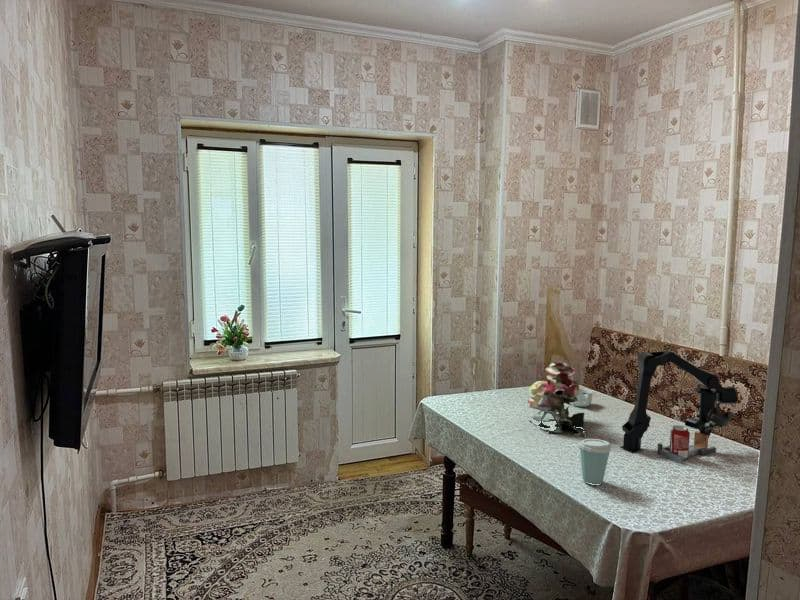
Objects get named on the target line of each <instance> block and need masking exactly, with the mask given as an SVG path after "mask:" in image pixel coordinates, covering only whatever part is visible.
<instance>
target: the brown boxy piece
mask: <svg viewBox="0 0 800 600" xmlns="http://www.w3.org/2000/svg"><path fill="white" fill-rule="evenodd" d="M693 445H696V446H692V447H689V455H688V457H690V456H695V455H700V450H701V449H706V448H709V447H708V446H709V438H708V435H706V434H703V433H700V431H694V442H693Z"/></svg>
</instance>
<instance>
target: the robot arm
mask: <svg viewBox="0 0 800 600" xmlns="http://www.w3.org/2000/svg"><path fill="white" fill-rule="evenodd" d="M668 363H671V364H673V365H675V366H676V367H678V368H680V369H681V370H683V371H684V372H686V373H687V374H690V375H691V376H692V377H693V378H694V379H695V380H696V381H697V382H698V383H699V384H701V385H702V386H704V387H705V388H704V387H702V386H700V385H698V386H697V388H695V389H694V392H695V393H697V394H699V403H698V404H697V405H696V408H698V414H695V415H696V417H690V418H686V419H685V420H684V426H685V427H688V428H692V429H694V430H698V432H700V433H703V434H706V435H708V439H709V438H710V436H711V434H712V432H713V430H714V429H715V428H717V427H718V428H723V427H727V426H728V425H729V423H731V422H732V414H731V413H730V412H728V411H727V412H720V411H719V410H720V409H719V407H718V406H716V404H717V403H716V402H718V404H721V405H735V404H736V405H737V403H738V401H739V397H738V394H737V390H736V387H735V386H731V385H730V386H723V385H722V384H721V383H720V378H719V377H718V376H717V375H716V374H714V373H712V372H710V371H708V370H705V369H702V368H699V367H697V366H696V365H694V364H692V363H691V362H689V361H688V360H686V359H684V358H683V357H681V356H679V355H678V354H677V353H675V352H674V351H672V350H668V349H666V350H663V351H651V352H646V351H643V352H641V353H639V355H638V356H637V368H638V374H639V375H638V381H637V387H636V388H637V389H636V394H635V395H636V396H635V401H634V407H633V409H632V410H631V412H630V414H629V417H628V420H627V421H626V422H624V424H622V426H621V428H622V430H623V432H624V434H623V439H622V440H623V441H622V442H623V444H622V445H621V446H619V448H620V449H623V450H625V451H627V452H628V453H629V452H630V453H633V454H634V453H638V452H642V451H644V448H642V446H641V445H642V439H643V436H644V434H645V433H646V432H647V431H648V428H650V422H651V420H652V419H651V418H652V417H651V416H650V414H647V408H648V401H649V396H650V390H651V383H652V377H653V376H654V374H655V373H656V371H657V368H658V367H659V366H663V365H666V364H668Z"/></svg>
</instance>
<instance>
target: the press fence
mask: <svg viewBox="0 0 800 600" xmlns="http://www.w3.org/2000/svg"><path fill="white" fill-rule="evenodd" d="M669 450H670V445H665V446H663V443H657V455H658V456H661V457H663V458H665V459H667V460H670V461H673V462H675V463H678V464H683V463H684V460H683V457H682V456H679V455H677V454H674V453H672V452H669Z"/></svg>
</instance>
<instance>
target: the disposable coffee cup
mask: <svg viewBox="0 0 800 600" xmlns="http://www.w3.org/2000/svg"><path fill="white" fill-rule="evenodd" d="M579 451H580V452H579V453H580V461H581V462H580V463H581V464H580V465H581V471H582V474H581V475H582V480H583V482H584V481H585V482H588V483H592V484H600V483H602V484H603V483H604V479H605V474H606V470H607V464H608V460H609V457H610V456H609V455H610V452H611V451H612V447H611V444H610V442H609V441H607V440H603V439H600V438H599V439H598V438H585V439H582V440H581V441H580V442H579ZM585 482H584V483H585Z"/></svg>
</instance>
